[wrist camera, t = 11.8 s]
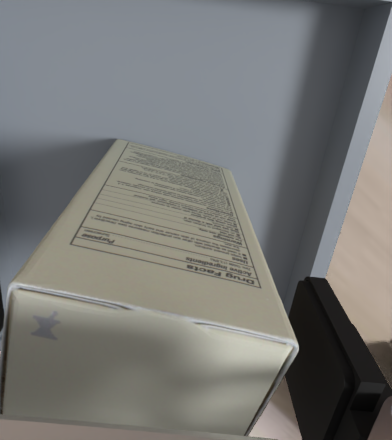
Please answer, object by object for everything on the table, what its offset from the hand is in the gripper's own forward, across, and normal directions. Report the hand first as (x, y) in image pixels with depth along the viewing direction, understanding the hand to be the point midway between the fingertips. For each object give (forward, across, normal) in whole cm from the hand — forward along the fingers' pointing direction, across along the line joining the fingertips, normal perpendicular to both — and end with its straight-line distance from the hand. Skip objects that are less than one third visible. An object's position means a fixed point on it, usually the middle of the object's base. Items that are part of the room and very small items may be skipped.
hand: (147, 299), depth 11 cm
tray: (+9, +1, 0) cm, 9 cm away
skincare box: (+9, 0, 0) cm, 9 cm away
